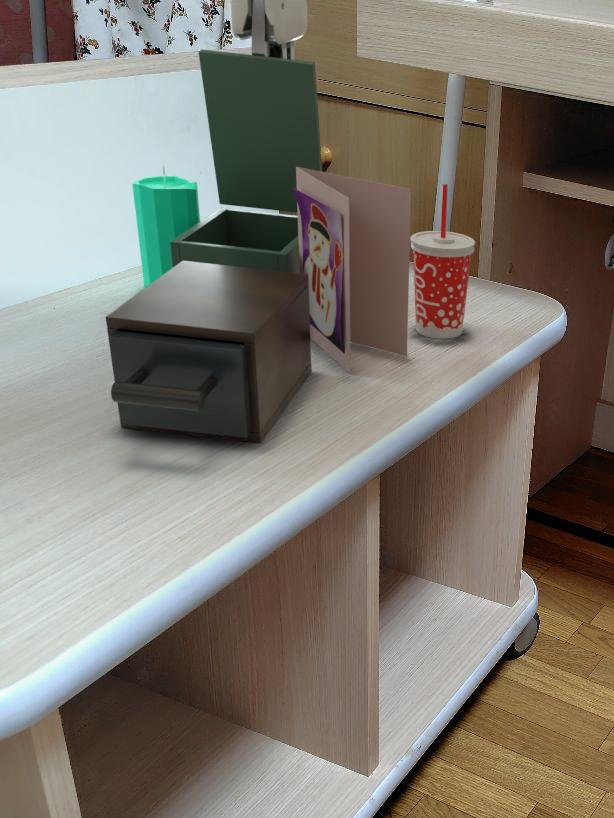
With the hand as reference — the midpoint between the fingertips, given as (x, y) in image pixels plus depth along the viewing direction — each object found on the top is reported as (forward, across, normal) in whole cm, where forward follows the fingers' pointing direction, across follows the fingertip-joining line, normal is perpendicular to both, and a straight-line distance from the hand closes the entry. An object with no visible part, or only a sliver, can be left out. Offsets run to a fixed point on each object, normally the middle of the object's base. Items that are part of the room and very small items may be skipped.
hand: (278, 118), depth 99 cm
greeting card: (+16, +18, +11) cm, 27 cm away
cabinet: (+16, +32, +4) cm, 36 cm away
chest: (+16, +10, 0) cm, 19 cm away
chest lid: (+1, +5, 0) cm, 5 cm away
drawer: (+15, +35, +4) cm, 39 cm away
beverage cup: (+16, +10, +18) cm, 27 cm away
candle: (+16, +6, -10) cm, 20 cm away
